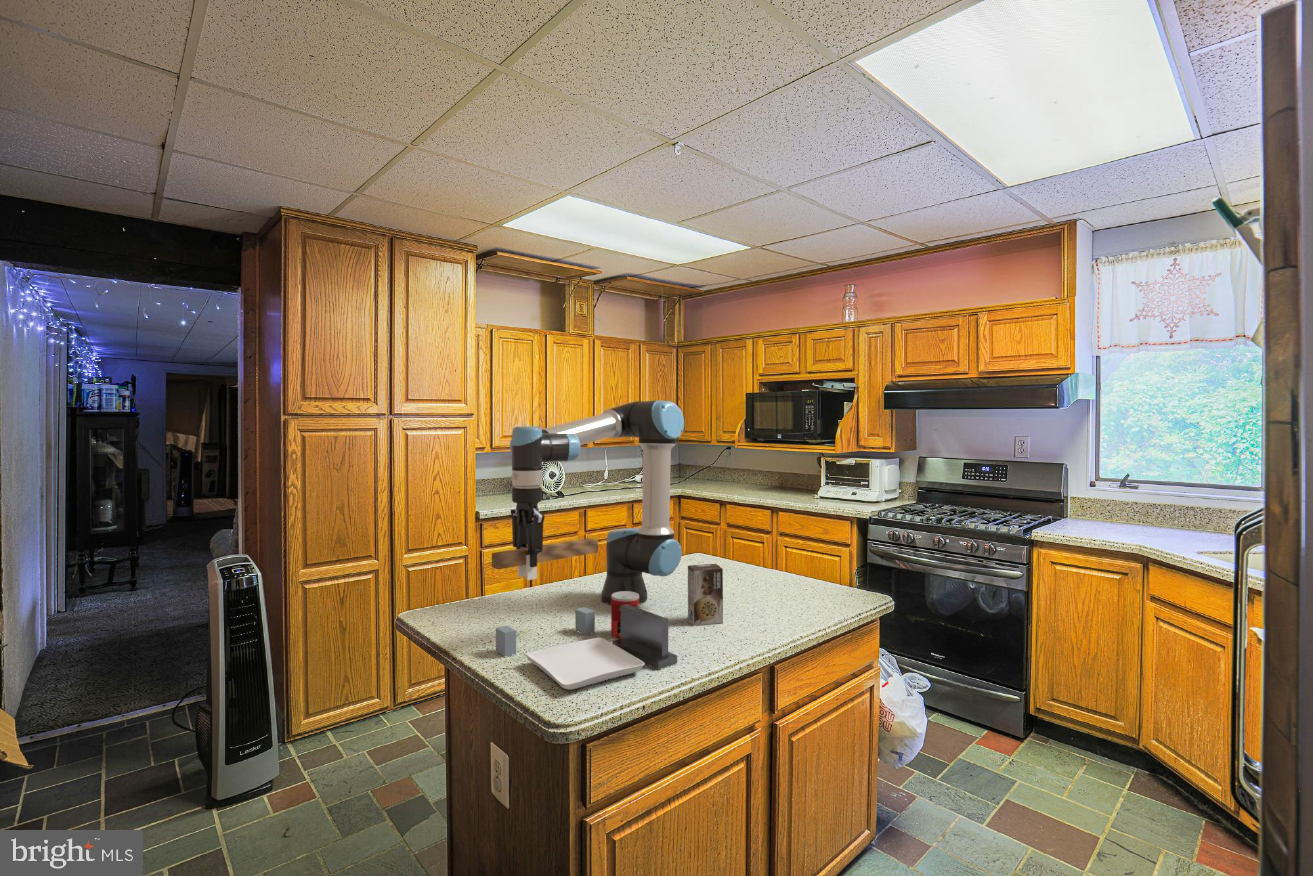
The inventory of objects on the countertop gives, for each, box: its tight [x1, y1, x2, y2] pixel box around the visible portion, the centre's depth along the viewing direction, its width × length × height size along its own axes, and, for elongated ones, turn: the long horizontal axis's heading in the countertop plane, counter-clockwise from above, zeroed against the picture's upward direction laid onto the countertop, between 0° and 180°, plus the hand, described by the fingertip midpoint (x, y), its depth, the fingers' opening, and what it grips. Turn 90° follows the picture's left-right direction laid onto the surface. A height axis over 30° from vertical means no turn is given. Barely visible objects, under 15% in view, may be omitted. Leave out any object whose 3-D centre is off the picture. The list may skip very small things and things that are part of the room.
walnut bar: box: [491, 537, 599, 570], centre depth 163 cm, size 30×4×4 cm, turn 131°
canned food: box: [610, 591, 640, 640], centre depth 169 cm, size 8×8×11 cm
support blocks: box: [495, 607, 596, 657], centre depth 164 cm, size 27×5×6 cm, turn 131°
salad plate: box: [525, 637, 646, 690], centre depth 145 cm, size 21×21×3 cm
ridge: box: [611, 604, 678, 670], centre depth 154 cm, size 6×18×11 cm, turn 41°
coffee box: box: [687, 563, 724, 626], centre depth 181 cm, size 9×6×16 cm
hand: (527, 577), depth 159 cm, fingers closed on walnut bar, 3 cm apart
